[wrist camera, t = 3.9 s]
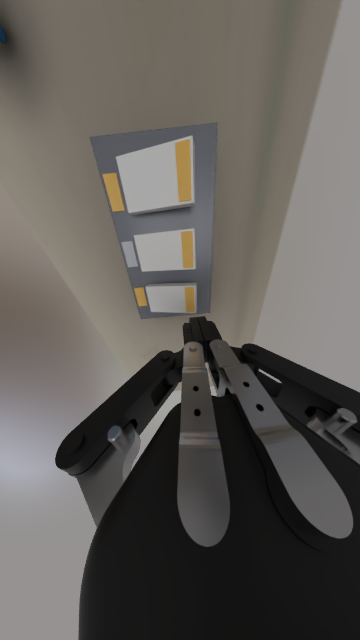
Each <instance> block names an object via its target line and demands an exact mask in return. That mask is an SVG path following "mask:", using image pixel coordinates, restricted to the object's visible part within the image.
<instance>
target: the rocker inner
mask: <svg viewBox="0 0 360 640" xmlns="http://www.w3.org/2000/svg"><path fill="white" fill-rule="evenodd" d="M116 160H117V164H118V169H119V173H120V178H121V182H122V186H123V191H124V195H125V200H126V204H127V208H128V213H130V214H133V215H138V214H145V213H151V212H157V211H164V210H170V209H177V208H183V207H189V206H195V147H194V141H193V136H188V137H185V138H181V139H178V140H174V141H170V142H167V143H163V144H160V145H156V146H152V147H149V148H145V149H142V150H138V151H135V152H131V153H127V154H124V155H120V156H117V157H116Z"/></svg>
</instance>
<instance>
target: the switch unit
mask: <svg viewBox="0 0 360 640" xmlns="http://www.w3.org/2000/svg"><path fill="white" fill-rule="evenodd" d="M188 136H193V141H194V147H195V206H189V207H183V208H177V209H170V210H164V211H157V212H151V213H145V214H138V215H133V214H130V213H128V208H127V204H126V200H125V195H124V191H123V186H122V182H121V178H120V173H119V169H118V164H117V160H116V157H117V156H120V155H124V154H127V153H131V152H135V151H138V150H142V149H145V148H149V147H152V146H156V145H160V144H163V143H167V142H170V141H174V140H178V139H181V138H185V137H188ZM90 140H91V144H92V147H93V151H94V154H95V158H96V161H97V165H98V169H99V172H100V176H101V179H102V183H103V186H104V190H105V193H106V197H107V200H108V204H109V207H110V211H111V215H112V218H113V222H114V225H115V229H116V232H117V236H118V239H119V243H120V246H121V250H122V253H123V257H124V261H125V264H126V268H127V271H128V275H129V278H130V282H131V285H132V289H133V292H134V296H135V299H136V303H137V307H138V310H139V314H140V317H141V319H146V318H157V317H168V316H179V315H191V314H202V313H210V292H211V268H212V244H213V219H214V195H215V171H216V146H217V123H211V124H202V125H193V126H184V127H175V128H166V129H158V130H149V131H140V132H131V133H122V134H113V135H104V136H95V137H90ZM192 228H195V229H196V269H187V270H166V271H145V272H142V270H141V266H140V261H139V257H138V252H137V248H136V244H135V239H134V235H141V234H149V233H158V232H166V231H175V230H183V229H192ZM157 283H197V312H196V313H170V312H151V310H150V305H149V301H148V296H147V292H146V288H145V287H146V286H147V285H148V284H157Z"/></svg>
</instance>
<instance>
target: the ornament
mask: <svg viewBox="0 0 360 640" xmlns="http://www.w3.org/2000/svg"><path fill="white" fill-rule="evenodd" d="M5 40H6V38H5V34H4V31H3V29H2V27H1V25H0V41H1V42H5Z"/></svg>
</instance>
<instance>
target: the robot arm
mask: <svg viewBox="0 0 360 640" xmlns="http://www.w3.org/2000/svg"><path fill="white" fill-rule="evenodd" d="M189 322H190V323H184V325H183V336H184V347H183V349H182V350H181V351H179V352H177V353H173V352H172V351H169V350H165V351H161V352H159V353H158V354H157V355H156V356H155V357H154V358H152V359H151V360H150V361H149V362H148V363H147V364H146V365H145V366H144V367H142V368H141V369H140V370H139V371H138V372H137V373H136V374H135V375H134V376H132V377H131V378H130V379H129V380H128V381H127V382H126V383H125V384H124V385H122V386H121V387H120V388H119V389H118V390H117V391H116V392H115V393H114V394H112V395H111V396H110V397H109V398H108V399H107V400H106V401H105V402H104V403H103V404H101V405H100V406H99V407H98V408H97V409H96V410H95V411H94V412H92V413H91V414H90V415H89V416H88V417H87V418H86V419H85V420H84V421H82V422H81V423H80V424H79V425H78V426H77V427H76V428H75V429H74V430H72V431H71V432H70V433H69V434H68V435H67V436H66V438H65V439H64V440H63V441H62V443H61V445H60V446H59V448H58V451H57V454H56V458H55V462H56V466H57V467H58V468H60V469H61V470H64V471H66V472H67V473H68V474H69V475H71V476H73V477H75V478H77V480H78V482H79V485H80V488H81V490H82V492H83V495H84V497H85V500H86V502H87V505H88V507H89V510H90V512H91V514H92V517H93V519H94V522H95V524H96V527H97V530H96V532H95V535H94V538H93V540H92V543H91V546H90V549H89V552H88V556H87V560H86V564H85V568H84V573H83V579H82V585H81V593H80V606H79V640H360V393H359V392H357V391H355V390H353V389H351V388H349V387H346V386H344V385H342V384H340V383H338V382H335V381H333V380H331V379H328V378H327V377H325V376H323V375H320V374H318V373H316V372H314V371H312V370H309V369H307V368H305V367H303V366H301V365H298V364H296V363H294V362H292V361H290V360H288V359H286V358H283V357H281V356H279V355H277V354H275V353H273V352H270V351H268V350H266V349H264V348H262V347H259V346H257V345H255V344H244V345H243V346H242V348H236V347H231V346H229V344H228V343H227V342H225V341H223V340H222V338H221V336H220V334H219V331H218V329H217V328H216V325H215V324H214V323H213V322H212V321H207V320H206V317H205V316H203V317H192V318H189ZM205 362H208V364H209V373H210V376H211V378H212V381H213V384H214V387H215V390H216V393H217V396H212V395H211V391H210V384H209V378H208V372H207V368H206V367H205ZM259 369H261V370H263V371H264V372H266V373H268V374H270V375H271V376H273V377H275V378H277V379H279V380H280V381H281V382H282V383H278V382H276V381H275V380H273V379H271V378H270V377H268V376H266V375H264V374H263V373H261V372H259ZM181 381H182V394H181V403H179V404H177V405H176V406H175V407H174V408H173V409H172V410H171V411H170V412H169V413H168V415H167V416H166V418H165V419H164V421H163V422H162V424H161V425H160V427H159V429H158V430H157V432H156V433H155V435H154V436H153V438H152V440H151V441H150V443H149V444H148V446H147V447H146V449H145V450H144V452H143V453H142V455H141V456H140V458H139V460H138V461H137V463H136V464H135V466H134V467H133V469H132V471H131V467H132V464H133V462H134V460H135V458H136V456H137V454H138V452H139V449H140V437H139V435H140V434H141V433H142V432H143V430H144V429H145V428H146V426H147V425H148V423H149V422H150V421H151V419H152V418H153V417H154V416H155V414H156V413H157V411H158V410H159V409H160V408H161V406H162V405H163V404H164V402H165V401H166V400H167V398H168V397H169V396H170V394H171V393H172V392H173V391H174V389H175V388H176V387H177V385H178V383H179V382H181Z"/></svg>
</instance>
